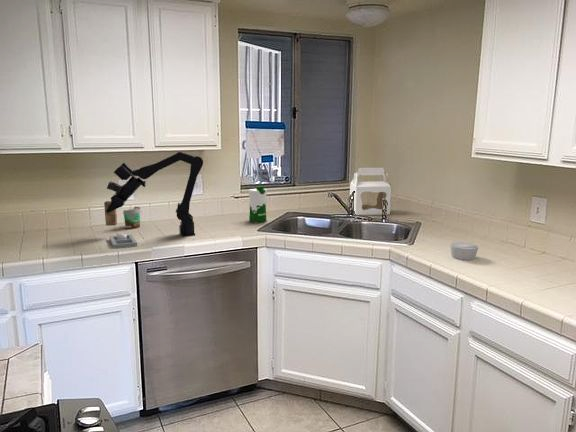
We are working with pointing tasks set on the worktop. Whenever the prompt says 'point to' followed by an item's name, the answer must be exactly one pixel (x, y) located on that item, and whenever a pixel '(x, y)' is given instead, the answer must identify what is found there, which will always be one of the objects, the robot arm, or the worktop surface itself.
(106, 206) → the walnut block
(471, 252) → the ramekin
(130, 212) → the food container
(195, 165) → the robot arm
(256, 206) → the milk carton
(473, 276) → the worktop surface
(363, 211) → the gable box
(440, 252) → the worktop surface
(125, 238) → the grey divided frame
